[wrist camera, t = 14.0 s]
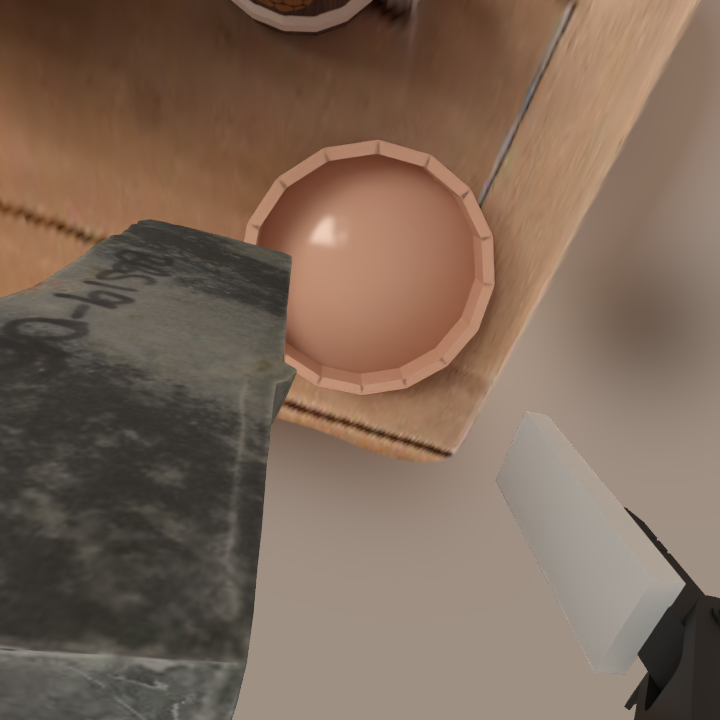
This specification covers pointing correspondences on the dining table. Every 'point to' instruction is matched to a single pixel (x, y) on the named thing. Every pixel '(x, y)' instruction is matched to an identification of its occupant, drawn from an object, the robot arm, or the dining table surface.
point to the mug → (303, 14)
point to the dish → (376, 265)
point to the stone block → (137, 474)
